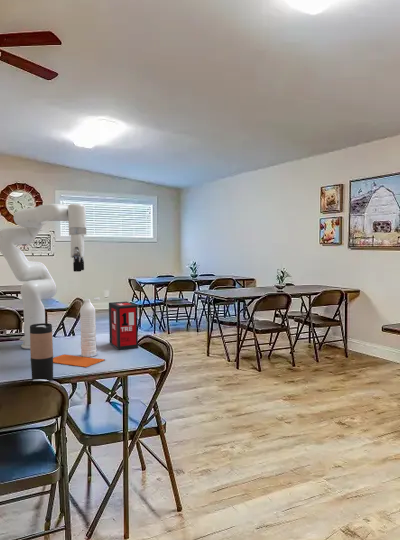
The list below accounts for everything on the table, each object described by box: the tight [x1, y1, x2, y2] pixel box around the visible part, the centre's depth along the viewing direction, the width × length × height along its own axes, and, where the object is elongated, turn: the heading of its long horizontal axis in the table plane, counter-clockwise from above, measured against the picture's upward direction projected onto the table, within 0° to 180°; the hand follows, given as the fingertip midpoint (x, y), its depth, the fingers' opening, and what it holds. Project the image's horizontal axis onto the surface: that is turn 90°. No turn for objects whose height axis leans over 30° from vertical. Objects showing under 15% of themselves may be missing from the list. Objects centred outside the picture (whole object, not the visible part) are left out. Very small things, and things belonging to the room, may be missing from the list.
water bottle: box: [79, 297, 101, 358], centre depth 204 cm, size 9×6×25 cm
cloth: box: [53, 354, 106, 368], centre depth 195 cm, size 22×12×1 cm, turn 64°
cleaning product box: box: [108, 300, 139, 351], centre depth 222 cm, size 16×9×20 cm, turn 26°
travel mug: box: [29, 322, 54, 381], centre depth 167 cm, size 8×8×20 cm
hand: (78, 270), depth 207 cm, fingers open, 9 cm apart
